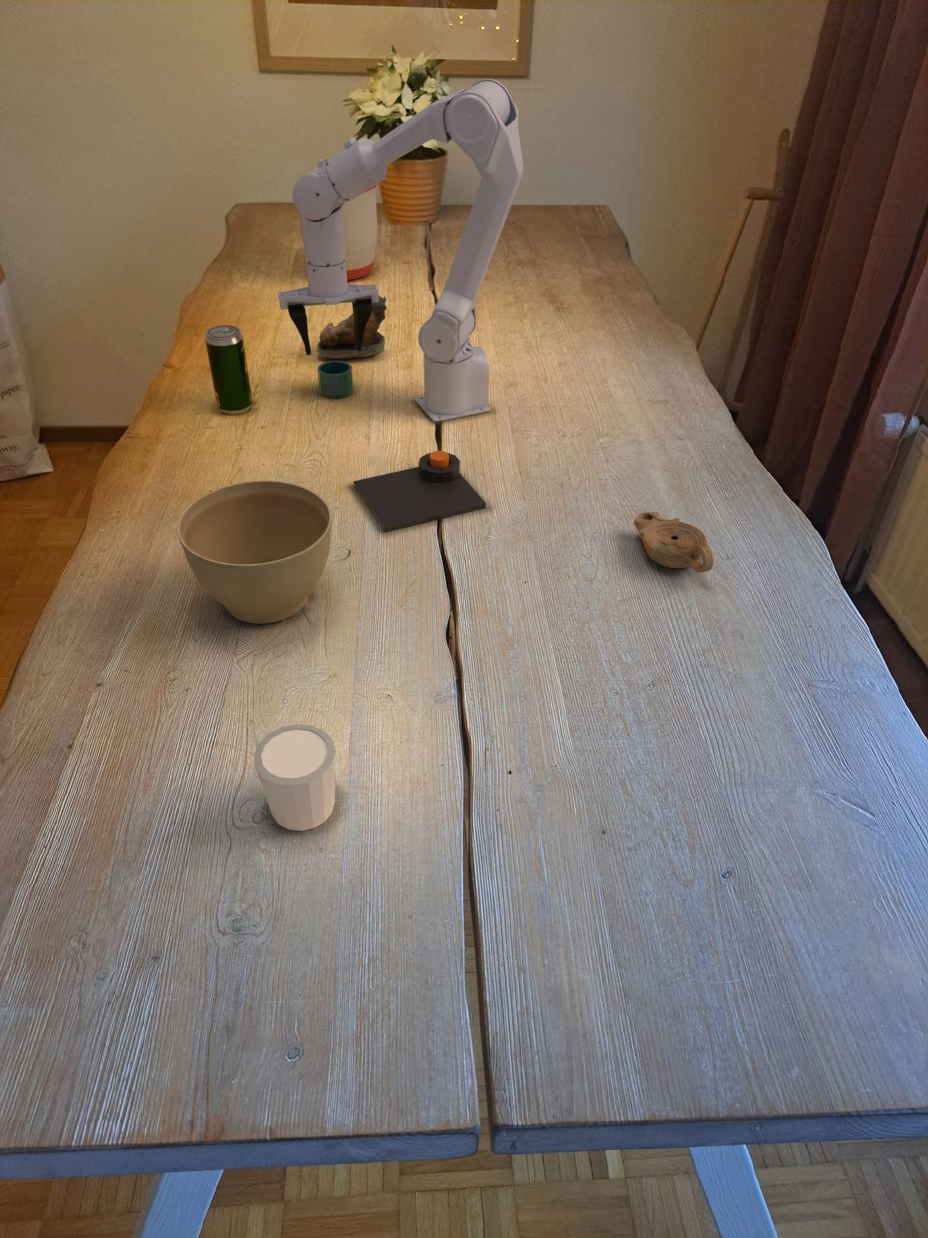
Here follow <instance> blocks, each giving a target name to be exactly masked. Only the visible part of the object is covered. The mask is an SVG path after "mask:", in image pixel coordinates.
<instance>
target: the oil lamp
mask: <svg viewBox="0 0 928 1238" xmlns="http://www.w3.org/2000/svg"><path fill="white" fill-rule="evenodd" d="M633 525H634V526H635V528H636V530H637V532H638V534H639V537H640V539H641V541H642V543H643V547H644V548H643V549H644V550H645V552H646V554H647V556H648V557H649V558H650V559H651V560H652V561H653V562H655V563H656V564H658V565H660V566H663V567H666V568H670V569H684V568H688V567H690V568H691V569H692V570H693V571H694V572H696V573H705V572H709V571H711V570H712V569H713V566H714V553H713V550H712V548H711V547H710V546H709V541H708V539H707V537H706V535H705V534H704V532H703V531H702V530H700V529H699V528H697V527H696V526H693V525H691V524H689V523H686V522H683V521H680V518H677V517H674V518H672V519H670V518H669V519H668V518H663V517H661V516H660V513H659V512H658V511H644V512H640V513H639V514H638V515H637V516H636V518H635V519H634V520H633ZM701 558H702V563H701V562H700V561H701Z"/></svg>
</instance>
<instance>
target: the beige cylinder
mask: <svg viewBox="0 0 928 1238" xmlns="http://www.w3.org/2000/svg"><path fill="white" fill-rule="evenodd" d="M336 755H337V754H336V746H335V744H334V740H333V739H332V737H331V736H330V735H329V734H328V733H327V732H326V730H324V729H321V728H320V727H316V726H314V725H311V724H302V723H301V724H300V723H295V724H291V725H285V726H281V727H279V728H277V729H275V730H273V731H271V732H269V733H268V734H266V735H265V736H264V737H263V738H262V739H261V740H260V742H259V743H257V746H256V749H255V751H254V754H253V761H254V762H253V763H254V768H255V771H256V773H257V776H258V779H259V782H260V786H261V788H262V791H263V793H264V794H263V795H264V796H265V799H266V802H267V806H268V808H269V810H270V813H271V816H272V818H273V819H274V821H275V822H276V824H277V825H278V826H280V827H283V828H285V829H286V830H289V831H297V832H302V831H303V832H304V831H308V830H312V829H313V830H314V829H315V828H317V827H318V826H321V825H322V824H324V823H325V822H326V821H327V820H328V819H329V817H330V816H331V815H332V814H333V810H334V807H335V804H336V803H335V802H336Z"/></svg>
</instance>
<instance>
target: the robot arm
mask: <svg viewBox="0 0 928 1238" xmlns="http://www.w3.org/2000/svg"><path fill="white" fill-rule="evenodd" d="M466 89H467V88H466V87H464V88H462V89H460V90H457V91H454V92H453V93H450V94H448V95H446V96H444V97H442V98H439V99H437V100H435V101H433V102H432V103H430V104H428V105H427V106H425V107H424V108H423V109H421V110H420V111H418V112H417V113H415V114H414V115H412V116H411V117H410V118H408V119H407V120H405V121H404V122H403V123H401V124H400V125H398V126H397V127H396V128H393V129H392V130H391V131H390V132H388V133H387V134H385V135H384V136H383V137H381V138H380V139H378V140H377V141H376V140H374V139H373V140H372V139H369V138H367V137H360V138H358V139H356V138H355V137H351V138H350V139H349V140H347V141H345V142H344V143H343V147H344V148H343V149H342V150H341V151H339V152H338V153H336V154H335V155H333V156H331V157H330V158H328V159H327V158H326V157H323V158H321V159H320V160H319V161H318V162H316V164H317V167H315V168H313V169H311V171H309V172H307V173H304V174H302V175H301V176H300V178H298V180H297V181H296V182H295V183H294V184H293V185H294V186H293V187H292V192H291V193H292V201H293V204H294V207H295V209H296V210H297V211H298V213H300V214H301V216H302V226H303V238H304V243H303V247H304V248H303V249H304V257H305V258H304V259H305V266H306V277H307V286H305V287H300V288H296V289H291V290H286V291H284V290H283V291H278V293H277V295H278V302H279V309H280V310H281V311H283V310H287V311H288V315H289V318H290V320H291V321H292V323H293V324H294V326H295V328H296V329H297V331H298V333H299V336H300V338H301V340H302V343H303V345H304V351H305V355H306V356H312V347H311V344H310V337H309V329H308V328H309V325H308V315H307V312H306V307H309V306H312V307H313V306H323V305H325V306H334V305H335V306H337V305H339V304H345V303H346V304H347V303H348V304H349V303H351V305H352V314H353V316H354V342H355V347H356V350H357V351H360V350H361V346H362V339H363V335H364V331H365V328H366V325H367V322H368V320H369V318H370V316H371V314H372V310H373V307H372V304H371V302H379V300H378V295H379V288H378V287H377V286H378V285H376V284H355V283H354V284H353V283H351V284H350V283H348V281H347V272H346V259H345V244H344V230H343V219H342V206H343V205H344V203H346V202H349V201H351V200H352V199H354V198H356V197H357V196H359V195H361V194H362V193H364V192H365V191H367V190H369V189H370V188H372V187H373V186H375V185H378V184H380V183H382V182H383V181H384V180H385V179H386V176H387V171H388V168H389V165H390V164H391V163H393V162H394V161H396V160H398V159H400V158H402V157H404V156H405V155H407V154H409V153H410V152H412V151H414V150H415V149H417V148H419V147H420V146H422V145H424V144H425V143H428V142H429V141H431V140H434V141H438V142H441V143H443V144H448V143H449V142H451V141H453V142H454V143H455V144H456V146H458V147H459V148H460V150H461V151H462V152H464V154H465V155H466V156H467V157H468V158H469V159H470V160H471V161H472V162H473V164H474V166H475V168H476V170H477V172H478V174H479V176H480V183H479V185H478V188H477V190H476V194H475V197H474V200H473V203H472V206H471V208H470V212H469V215H468V217H467V220H466V223H465V225H464V229H463V232H462V235H461V238H460V241H459V243H458V246H457V249H456V252H455V255H454V258H453V261H452V264H451V267H450V270H449V273H448V276H447V279H446V281H445V284H444V287H443V290H442V292H441V294H440V295H439V298H438V300H437V302H436V303H435V306H434V308H433V311H432V313H431V316H430V317H429V318H428V319H427V320H426V321H425V322H424V323H423V324H422V326H421V327H420V329H419V331H418V344H419V348H420V349H421V351H422V353H423V374H424V375H423V381H424V382H423V383H424V384H423V385H424V386H423V387H424V388H423V389H424V391H423V392H424V395H423V396H418V397H414V398H415V399H414V401H415V403H416V404H417V405H418V407H420V408H421V409H422V411H424V413H425V414H426V415H427V417H429V418H430V419H431V420H432V422H434V423H438V422H439V423H440V422H444V421H449V420H455V419H458V418H463V417H468V416H469V417H470V416H473V415H478V414H484V413H487V412H488V413H489V412H491V407H490V406H489V396H490V393H489V392H490V364H489V360H488V356H487V353H486V352H485V350H484V349H483V348H482V347H480V346H472V345H473V344H472V343H471V340H470V336H471V335H472V333H473V332H474V331H475V329H476V326H477V319H478V318H477V313H476V312H477V306H478V303H479V300H480V298H479V293H480V291H481V288H482V286H483V282H484V279H485V277H486V274H487V272H488V269H489V267H490V264H491V262H492V258H493V256H494V253H495V250H496V248H497V245H498V243H499V240H500V237H501V234H502V231H503V229H504V226H505V224H506V220H507V219H508V215H509V213H510V210H511V208H512V204H513V202H514V200H515V197H516V194H517V191H518V189H519V186H520V183H521V181H522V177H523V175H524V167H525V166H524V160H523V159H524V158H523V153H522V146H521V138H520V131H519V109H518V107H517V106H516V104H515V101H514V100H513V97H512V96H511V93H510V92H509V91H508V89H507V87H506V86H505V85H504V84H503V83H501V82H500V81H498V80H496V79H492V78H483V79H480V80H478V81H476V82H475V83H473V85H471V86H470V88H468V89H467V90H466ZM300 214H299V215H300Z"/></svg>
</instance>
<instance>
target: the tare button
mask: <svg viewBox="0 0 928 1238" xmlns="http://www.w3.org/2000/svg"><path fill="white" fill-rule="evenodd" d="M446 452H447V451H445V450H434V451H432V452H430V453H431V454H430V466H432V467H434V468H444V467H447V466H448V465H449V455H448V453H449V452H447V453H446Z"/></svg>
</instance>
